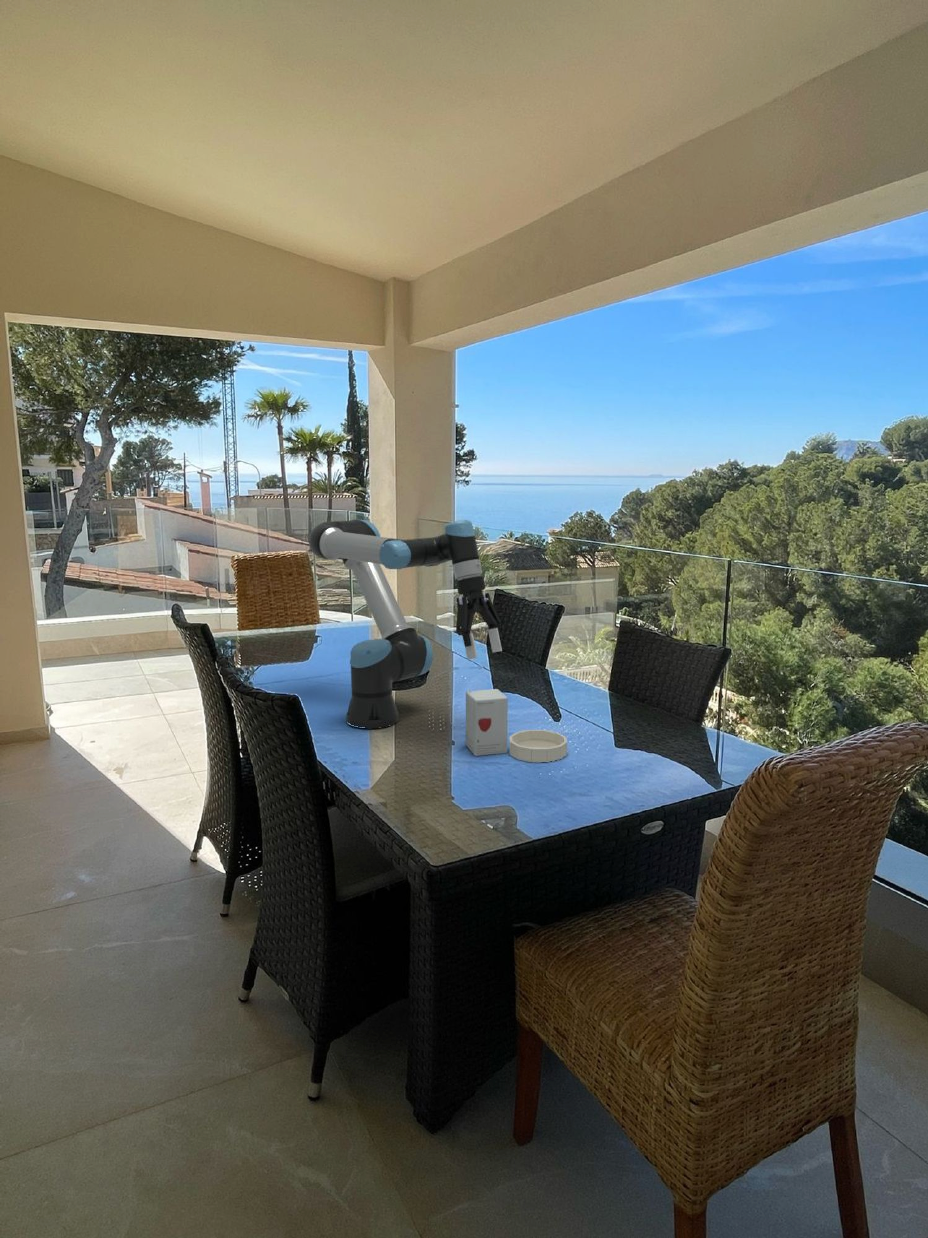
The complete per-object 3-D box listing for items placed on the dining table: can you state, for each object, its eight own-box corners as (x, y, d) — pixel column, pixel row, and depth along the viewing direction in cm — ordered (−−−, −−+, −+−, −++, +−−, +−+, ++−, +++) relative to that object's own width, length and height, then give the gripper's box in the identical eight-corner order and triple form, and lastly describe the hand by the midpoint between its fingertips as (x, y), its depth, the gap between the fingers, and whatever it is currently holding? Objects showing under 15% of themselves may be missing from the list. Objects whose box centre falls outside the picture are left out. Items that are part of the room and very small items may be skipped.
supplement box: (474, 757, 196) (474, 700, 193) (465, 745, 204) (464, 690, 201) (508, 753, 198) (508, 697, 195) (497, 741, 207) (497, 688, 204)
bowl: (499, 755, 197) (499, 742, 196) (526, 739, 209) (526, 726, 208) (550, 766, 189) (551, 753, 188) (575, 748, 201) (575, 736, 200)
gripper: (456, 577, 195) (473, 659, 194) (503, 572, 216) (518, 647, 216) (432, 583, 199) (449, 663, 198) (480, 578, 220) (495, 651, 220)
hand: (485, 655), depth 207 cm, fingers open, 13 cm apart
